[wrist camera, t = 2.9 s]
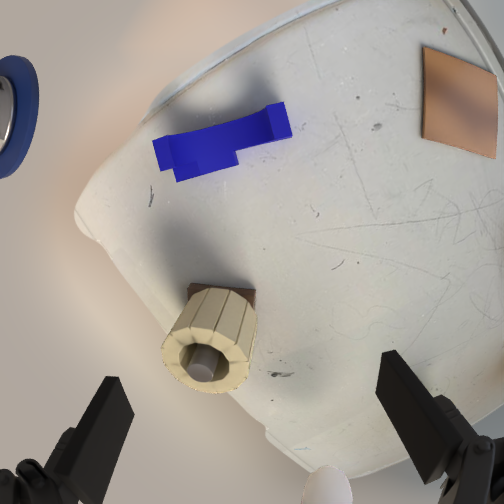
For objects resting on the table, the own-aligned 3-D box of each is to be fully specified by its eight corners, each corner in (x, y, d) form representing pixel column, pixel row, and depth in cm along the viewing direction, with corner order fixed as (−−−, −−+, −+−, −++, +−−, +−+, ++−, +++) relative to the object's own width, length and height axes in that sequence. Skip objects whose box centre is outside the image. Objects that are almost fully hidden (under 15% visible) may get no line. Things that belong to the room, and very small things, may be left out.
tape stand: (190, 282, 36) (156, 334, 26) (256, 289, 35) (242, 348, 25) (194, 334, 39) (166, 391, 29) (252, 342, 38) (239, 405, 28)
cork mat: (422, 47, 22) (424, 46, 22) (494, 76, 21) (496, 75, 21) (421, 138, 26) (423, 138, 26) (492, 158, 25) (495, 159, 25)
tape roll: (182, 283, 34) (156, 320, 27) (259, 292, 33) (250, 334, 26) (187, 343, 38) (167, 384, 30) (255, 353, 37) (246, 398, 29)
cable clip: (186, 178, 31) (164, 187, 26) (175, 140, 30) (152, 140, 24) (295, 151, 29) (296, 153, 23) (284, 109, 28) (283, 101, 22)
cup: (354, 417, 42) (365, 526, 22) (328, 438, 44) (330, 538, 25) (320, 406, 41) (322, 524, 22) (295, 428, 44) (288, 535, 25)
